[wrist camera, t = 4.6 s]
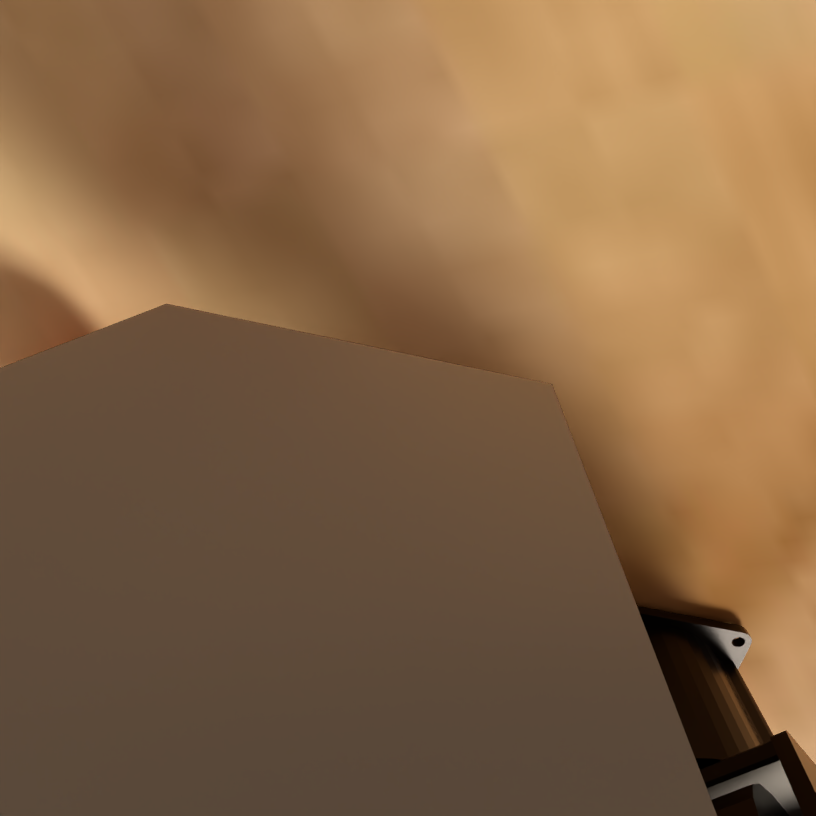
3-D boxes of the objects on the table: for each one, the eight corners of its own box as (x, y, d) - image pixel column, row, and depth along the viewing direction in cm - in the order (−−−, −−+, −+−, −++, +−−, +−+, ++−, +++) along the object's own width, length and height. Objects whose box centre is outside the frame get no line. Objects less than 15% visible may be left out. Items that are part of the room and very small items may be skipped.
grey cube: (552, 384, 11) (790, 1006, 3) (464, 673, 14) (449, 1386, 6) (166, 304, 11) (-708, 641, 3) (163, 604, 14) (-272, 1189, 6)
